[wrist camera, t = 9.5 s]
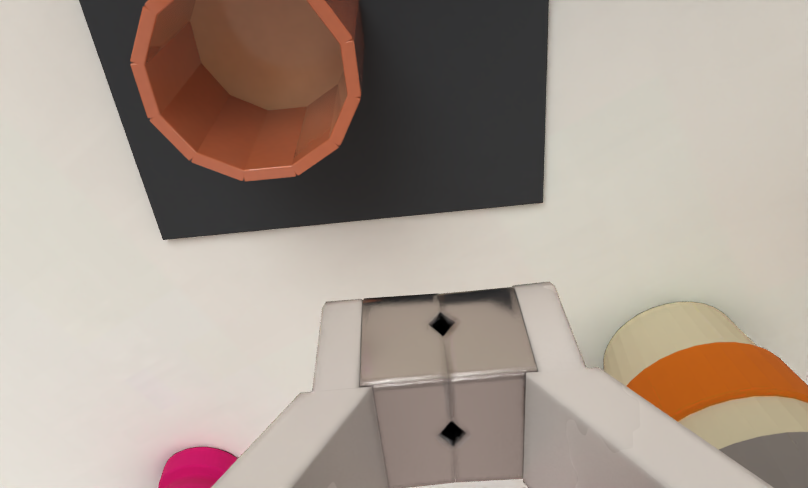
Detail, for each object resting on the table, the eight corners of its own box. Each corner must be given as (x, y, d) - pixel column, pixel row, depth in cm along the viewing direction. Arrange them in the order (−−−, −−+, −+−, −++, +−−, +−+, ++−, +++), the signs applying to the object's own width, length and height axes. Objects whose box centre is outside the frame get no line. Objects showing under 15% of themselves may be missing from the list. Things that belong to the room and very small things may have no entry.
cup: (349, -76, 28) (161, -56, 29) (341, -52, 22) (100, -26, 22) (372, 106, 33) (209, 122, 33) (371, 169, 27) (170, 189, 27)
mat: (2, -230, 25) (-3, -231, 25) (554, -293, 25) (557, -295, 25) (164, 236, 37) (162, 240, 37) (541, 199, 37) (543, 203, 36)
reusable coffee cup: (542, 346, 43) (610, 559, 30) (716, 244, 39) (879, 440, 26) (630, 441, 48) (719, 655, 36) (791, 360, 44) (955, 569, 32)
